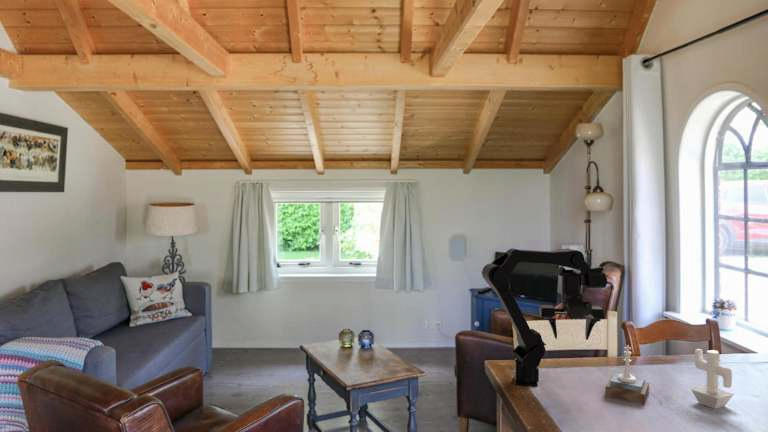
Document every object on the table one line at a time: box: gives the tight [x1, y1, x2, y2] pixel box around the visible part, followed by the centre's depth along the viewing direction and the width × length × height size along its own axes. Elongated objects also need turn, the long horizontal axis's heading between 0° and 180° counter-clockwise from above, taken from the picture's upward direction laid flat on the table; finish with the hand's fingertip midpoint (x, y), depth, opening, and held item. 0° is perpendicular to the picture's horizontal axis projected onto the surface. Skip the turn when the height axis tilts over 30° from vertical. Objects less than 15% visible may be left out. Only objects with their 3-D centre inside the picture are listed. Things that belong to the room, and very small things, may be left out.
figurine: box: [690, 348, 734, 410], centre depth 135 cm, size 7×9×15 cm
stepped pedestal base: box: [604, 372, 650, 406], centre depth 141 cm, size 10×10×4 cm
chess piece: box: [618, 344, 637, 383], centre depth 141 cm, size 5×5×10 cm
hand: (571, 339), depth 152 cm, fingers open, 9 cm apart
